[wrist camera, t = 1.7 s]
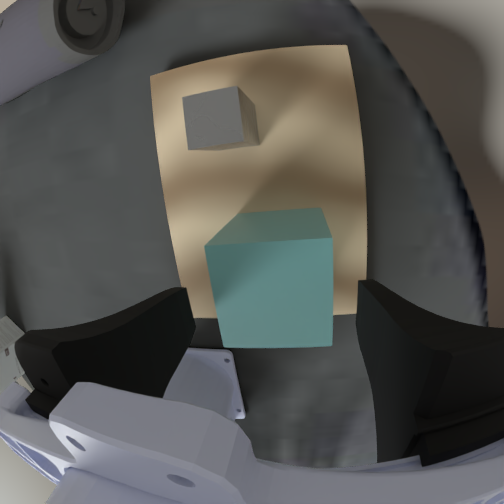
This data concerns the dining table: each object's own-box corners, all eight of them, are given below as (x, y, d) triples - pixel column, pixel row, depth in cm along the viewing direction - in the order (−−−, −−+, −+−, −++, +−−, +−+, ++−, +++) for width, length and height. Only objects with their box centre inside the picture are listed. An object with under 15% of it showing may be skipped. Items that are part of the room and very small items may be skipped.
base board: (360, 302, 20) (364, 312, 19) (195, 308, 23) (189, 317, 21) (343, 52, 14) (346, 45, 13) (159, 80, 17) (150, 76, 16)
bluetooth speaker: (141, -13, 14) (72, -61, 5) (125, 74, 17) (30, 48, 8) (2, 58, 17) (-55, 56, 8) (-7, 124, 20) (-68, 132, 11)
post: (259, 145, 16) (244, 141, 12) (218, 150, 17) (188, 150, 12) (254, 104, 15) (237, 85, 11) (213, 111, 16) (181, 97, 11)
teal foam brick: (324, 285, 18) (332, 345, 12) (247, 288, 19) (223, 347, 13) (320, 207, 17) (332, 237, 11) (237, 213, 18) (204, 245, 12)
